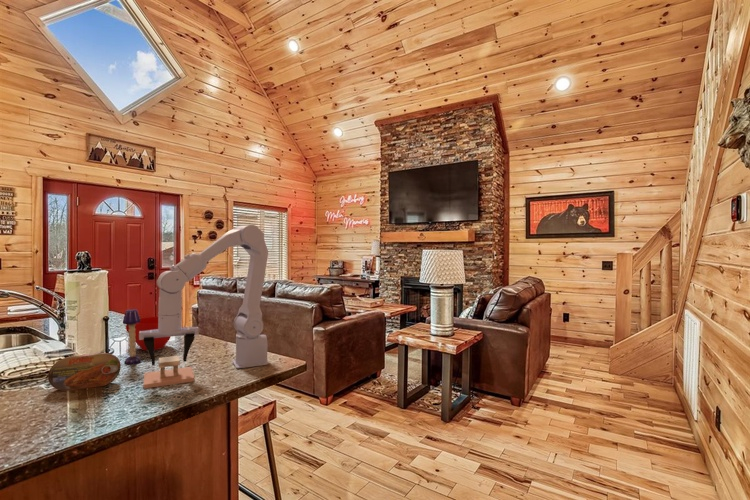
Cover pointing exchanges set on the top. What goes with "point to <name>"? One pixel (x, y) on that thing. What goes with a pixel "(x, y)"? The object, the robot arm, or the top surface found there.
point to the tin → (84, 371)
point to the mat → (168, 377)
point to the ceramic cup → (146, 325)
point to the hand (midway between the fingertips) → (169, 362)
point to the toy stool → (168, 362)
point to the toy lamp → (132, 335)
